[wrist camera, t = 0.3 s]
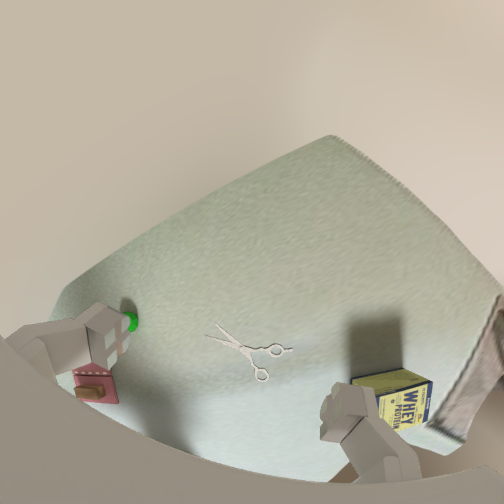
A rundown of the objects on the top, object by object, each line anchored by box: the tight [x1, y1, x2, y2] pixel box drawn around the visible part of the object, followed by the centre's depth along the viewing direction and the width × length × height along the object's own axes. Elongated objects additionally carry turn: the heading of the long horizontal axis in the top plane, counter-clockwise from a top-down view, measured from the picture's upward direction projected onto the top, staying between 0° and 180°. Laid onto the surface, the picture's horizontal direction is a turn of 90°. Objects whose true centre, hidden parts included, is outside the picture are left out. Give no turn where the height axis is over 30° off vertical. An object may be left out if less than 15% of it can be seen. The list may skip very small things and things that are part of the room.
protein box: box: [351, 368, 433, 432], centre depth 50 cm, size 10×16×16 cm
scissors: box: [207, 322, 293, 382], centre depth 61 cm, size 11×1×20 cm
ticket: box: [72, 362, 112, 376], centre depth 60 cm, size 14×16×3 cm
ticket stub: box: [73, 375, 119, 404], centre depth 57 cm, size 8×14×6 cm, turn 100°
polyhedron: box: [123, 312, 138, 332], centre depth 60 cm, size 5×5×5 cm
